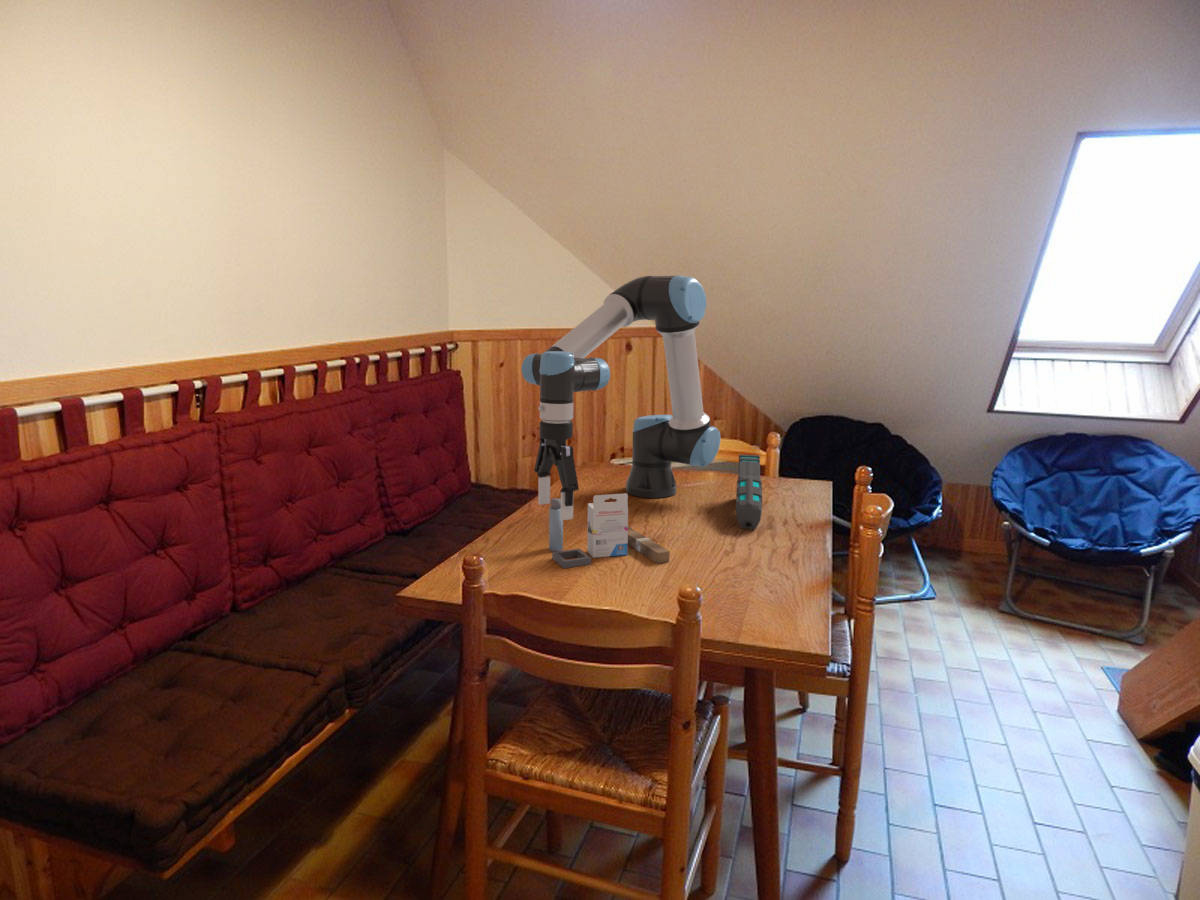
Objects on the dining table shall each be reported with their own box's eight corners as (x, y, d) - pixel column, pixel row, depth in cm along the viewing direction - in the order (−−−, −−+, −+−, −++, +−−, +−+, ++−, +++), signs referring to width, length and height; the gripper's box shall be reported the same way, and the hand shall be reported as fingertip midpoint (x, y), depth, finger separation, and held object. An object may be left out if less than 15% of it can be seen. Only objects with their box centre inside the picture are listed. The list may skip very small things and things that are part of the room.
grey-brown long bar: (609, 532, 192) (609, 522, 192) (620, 531, 194) (620, 521, 193) (657, 563, 171) (657, 552, 171) (669, 561, 173) (669, 550, 172)
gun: (758, 493, 225) (761, 449, 218) (759, 555, 200) (762, 507, 193) (735, 492, 226) (738, 448, 219) (733, 553, 201) (736, 506, 194)
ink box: (621, 548, 181) (622, 487, 178) (627, 555, 176) (629, 493, 173) (586, 551, 179) (587, 489, 176) (592, 558, 174) (592, 495, 171)
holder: (552, 558, 173) (552, 552, 173) (578, 554, 176) (578, 548, 176) (563, 568, 168) (563, 561, 167) (591, 564, 170) (591, 557, 170)
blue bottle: (547, 547, 181) (547, 498, 178) (559, 546, 182) (559, 497, 179) (552, 552, 178) (552, 502, 175) (564, 550, 179) (565, 500, 177)
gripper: (521, 413, 183) (521, 499, 187) (562, 430, 161) (561, 528, 165) (550, 411, 186) (549, 496, 190) (595, 428, 164) (592, 524, 168)
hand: (555, 511), depth 178 cm, fingers open, 13 cm apart
